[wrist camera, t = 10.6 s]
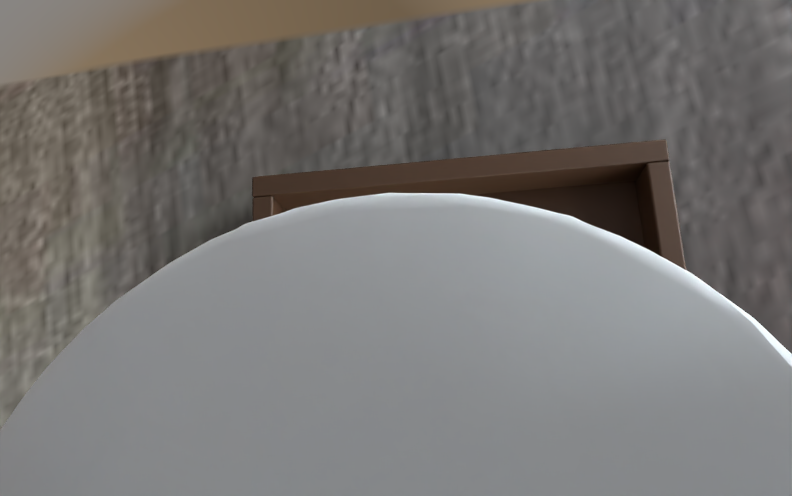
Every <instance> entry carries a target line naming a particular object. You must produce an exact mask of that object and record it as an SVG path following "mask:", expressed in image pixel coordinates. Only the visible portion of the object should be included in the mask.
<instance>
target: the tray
mask: <svg viewBox="0 0 792 496" xmlns="http://www.w3.org/2000/svg"><path fill="white" fill-rule="evenodd" d="M668 161H669V152H668V146H667V141H666V140H654V141H643V142H632V143H621V144H610V145H599V146H588V147H577V148H566V149H555V150H544V151H533V152H522V153H511V154H500V155H489V156H478V157H467V158H456V159H445V160H434V161H423V162H412V163H401V164H390V165H379V166H368V167H357V168H346V169H335V170H324V171H313V172H302V173H291V174H280V175H269V176H258V177H253V179H252V196H253V197H254V198H253V221H256V220H260V219H263V218H267V217H270V216H273V215H277V214H280V213H283V212H286V211H289V210H292V209H294V208H298V207H303V206H308V205H312V204H317V203H321V202H326V201H330V200H335V199H342V198H350V197H358V196H367V195H375V194H383V193H454V194H466V195H474V196H481V197H489V198H494V199H498V200H503V201H508V202H513V203H518V204H522V205H527V206H532V207H536V208H540V209H544V210H548V211H552V212H556V213H560V214H565V215H569V216H573V217H575V218H577V219H579V220H581V221H583V222H585V223H587V224H590V225H593V226H595V227H598V228H600V229H603V230H606V231H608V232H611V233H613V234H616V235H619V236H621V237H623V238H625V239H627V240H629V241H632V242H634V243H636V244H638V245H640V246H642V247H644V248H646V249H648V250H650V251H652V252H654V253H656V254H657V255H659V256H661V257H663V258H665V259H667V260H668V261H670V262H672V263H674V264H676V265H677V266H679V267H681V268H683V269H685V270H686V265H685V258H684V252H683V245H682V239H681V232H680V225H679V219H678V212H677V206H676V199H675V193H674V186H673V180H672V173H671V167H670V163H669V162H668Z"/></svg>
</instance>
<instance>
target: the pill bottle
mask: <svg viewBox="0 0 792 496" xmlns="http://www.w3.org/2000/svg"><path fill="white" fill-rule="evenodd" d="M0 496H792V354H791V353H790V352H789V351H788V350H787V349H786V348H785V347H784V346H783V345H781V344H780V343H779V342H778V341H777V340H776V339H775V338H774V337H773V336H772V335H771V334H770V333H769V332H768V331H767V330H766V329H765V328H764V327H763V326H762V325H761V324H759V323H758V322H757V321H756V320H755V319H754V318H753V317H752V316H750V315H749V314H747V313H746V312H745V311H743V310H742V309H741V308H739V307H738V306H736V305H735V304H734V303H732V302H731V301H729V300H728V299H727V298H725V297H724V296H723V295H721V294H720V293H718V292H717V291H716V290H714V289H713V288H711V287H710V286H709V285H707V284H706V283H704V282H703V281H702V280H700V279H699V278H697V277H696V276H695V275H693V274H692V273H690V272H688V271H686V270H685V269H683V268H681V267H679V266H677V265H676V264H674V263H672V262H670V261H668V260H667V259H665V258H663V257H661V256H659V255H657V254H656V253H654V252H652V251H650V250H648V249H646V248H644V247H642V246H640V245H638V244H636V243H634V242H632V241H629V240H627V239H625V238H623V237H621V236H619V235H616V234H613V233H611V232H608V231H606V230H603V229H600V228H598V227H595V226H593V225H590V224H587V223H585V222H583V221H581V220H579V219H577V218H575V217H573V216H569V215H565V214H560V213H556V212H552V211H548V210H544V209H540V208H536V207H532V206H527V205H522V204H518V203H513V202H508V201H503V200H498V199H494V198H489V197H481V196H474V195H466V194H454V193H383V194H375V195H367V196H358V197H350V198H342V199H335V200H330V201H326V202H321V203H317V204H312V205H308V206H303V207H298V208H294V209H292V210H289V211H286V212H283V213H280V214H277V215H273V216H270V217H267V218H263V219H260V220H256V221H253V222H249V223H246V224H244V225H242V226H240V227H239V228H237V229H235V230H233V231H230V232H228V233H226V234H223V235H221V236H218V237H216V238H213V239H211V240H209V241H208V242H206V243H204V244H202V245H200V246H199V247H197V248H195V249H193V250H192V251H190V252H188V253H186V254H185V255H183V256H181V257H179V258H177V259H176V260H174V261H172V262H170V263H169V264H167V265H166V266H165V267H163V268H162V269H160V270H159V271H157V272H156V273H154V274H153V275H152V276H150V277H149V278H147V279H146V280H144V281H143V282H142V283H140V284H139V285H137V286H136V287H134V288H133V289H131V290H130V291H129V292H127V293H126V294H124V295H123V296H121V297H120V298H119V299H117V300H116V301H115V302H113V303H112V304H111V305H110V306H109V307H108V308H107V309H105V310H104V311H103V312H102V313H101V314H100V315H99V316H97V317H96V318H95V319H94V320H93V321H92V322H91V323H89V324H88V325H87V326H86V327H85V328H84V329H83V330H82V331H81V332H80V333H79V334H78V335H77V336H76V337H75V338H74V339H73V340H72V341H71V342H70V343H69V344H68V345H67V346H66V347H65V349H64V350H63V351H62V352H61V353H60V354H59V355H58V356H57V357H56V358H55V359H54V360H53V361H52V362H51V363H50V364H49V365H48V367H47V368H46V369H45V370H44V372H43V373H42V374H41V375H40V377H39V378H38V379H37V380H36V382H35V383H34V384H33V385H32V387H31V388H30V389H29V390H28V392H27V393H26V394H25V396H24V397H23V398H22V400H21V401H20V402H19V404H18V405H17V407H16V408H15V410H14V411H13V413H12V414H11V415H10V417H9V418H8V420H7V421H6V423H5V424H4V425H3V427H2V428H1V430H0Z"/></svg>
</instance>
